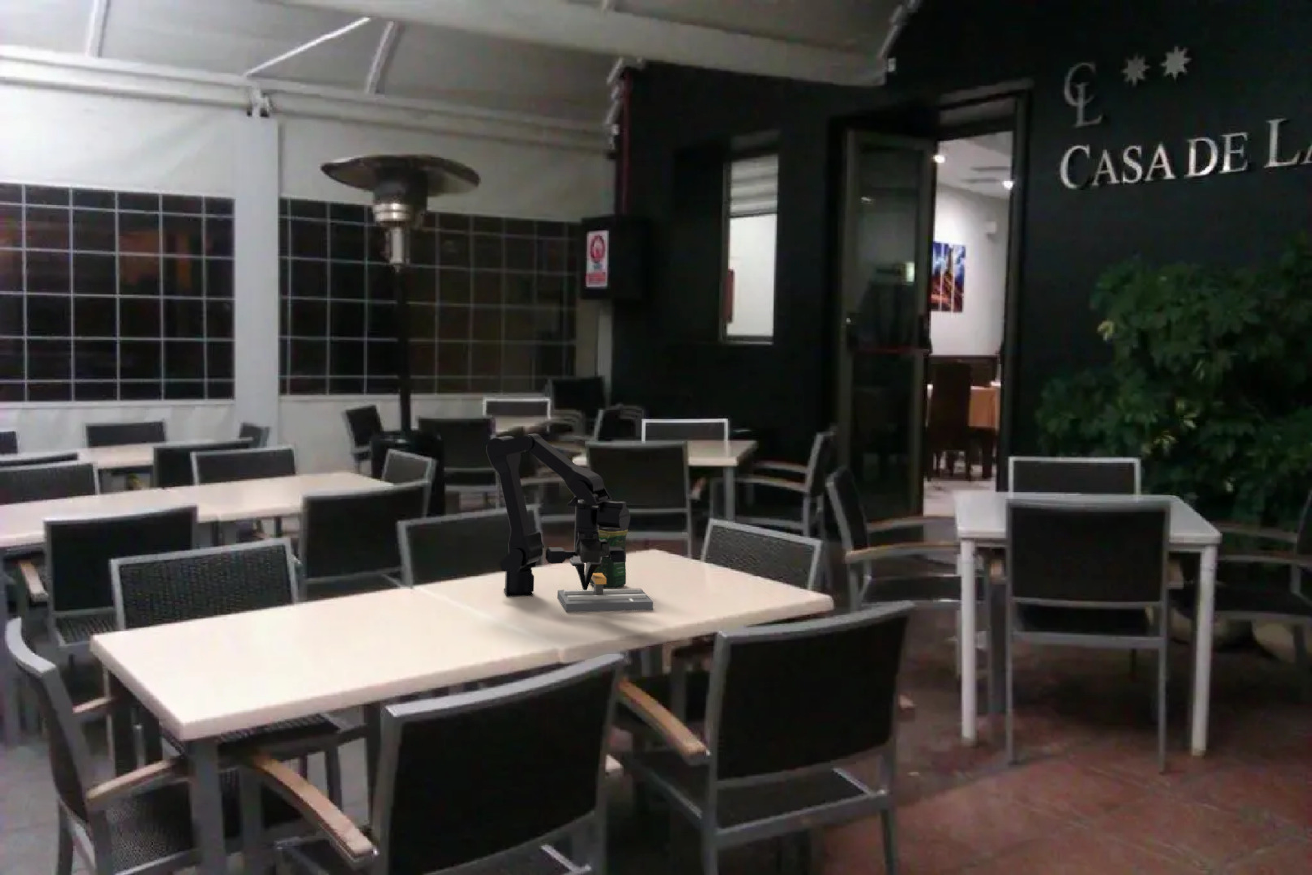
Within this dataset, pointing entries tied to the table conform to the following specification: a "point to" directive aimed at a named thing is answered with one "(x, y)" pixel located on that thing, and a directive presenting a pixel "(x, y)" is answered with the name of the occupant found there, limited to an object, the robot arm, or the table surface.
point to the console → (604, 600)
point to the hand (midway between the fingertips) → (584, 589)
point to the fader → (598, 583)
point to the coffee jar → (610, 569)
